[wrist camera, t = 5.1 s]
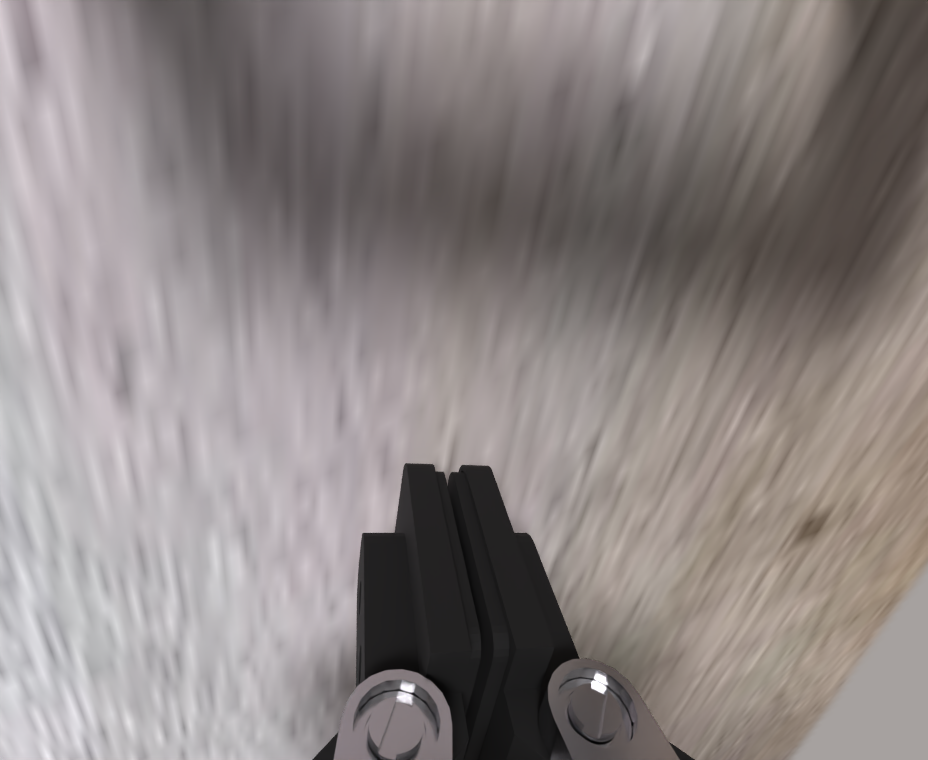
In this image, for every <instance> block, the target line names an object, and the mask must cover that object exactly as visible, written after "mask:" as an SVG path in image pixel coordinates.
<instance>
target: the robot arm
mask: <svg viewBox="0 0 928 760" xmlns="http://www.w3.org/2000/svg"><path fill="white" fill-rule="evenodd" d="M313 760H694V759H693V758H691V757H690V756H688V755H687V754H686V753H684V752H683V751H681V750H680V749H678V748H677V747H676V746H674V745H673V744H671V743H670V742H668V740H667V738H666V737H665V735H664V734H663V732H662V730H661V729H660V727H659V725H658V724H657V722H656V721H655V719H654V717H653V716H652V714H651V712H650V711H649V709H648V708H647V706H646V704H645V703H644V701H643V699H642V698H641V696H640V695H639V693H638V692H637V691H636V689H635V688H634V687H633V685H632V684H631V683H630V682H629V680H628V679H626V678H625V677H624V676H623V675H622V674H620V673H619V672H618V671H617V670H616V669H614V668H612V667H610V666H608V665H606V664H604V663H602V662H599V661H595V660H591V659H587V658H584V659H579V656H578V654H577V651H576V649H575V646H574V643H573V641H572V638H571V636H570V633H569V631H568V628H567V626H566V623H565V621H564V618H563V615H562V613H561V610H560V608H559V605H558V603H557V600H556V598H555V595H554V593H553V590H552V587H551V585H550V582H549V580H548V577H547V575H546V572H545V570H544V567H543V565H542V562H541V560H540V557H539V554H538V552H537V549H536V547H535V544H534V542H533V540H532V538H531V536H530V535H529V534H527V533H514V531H513V528H512V525H511V523H510V520H509V517H508V514H507V511H506V509H505V506H504V503H503V500H502V497H501V495H500V492H499V489H498V486H497V483H496V481H495V478H494V475H493V472H492V470H491V468H490V467H489V466H476V465H462V466H461V467H460V469H459V472H451V474H450V476H449V481H448V487H447V482H446V478H445V474H444V472H435V467H434V465H433V464H408V463H406V464H405V465H404V469H403V476H402V484H401V491H400V498H399V506H398V513H397V520H396V528H395V533H363V534H362V540H361V549H360V559H359V571H358V588H357V651H356V689H355V690H354V691H353V693H352V694H351V695H350V697H349V698H348V700H347V702H346V705H345V708H344V711H343V714H342V717H341V721H340V727H339V732H338V733H337V734H336V735H335V736H334V737H333V738H332V739H331V741H330V742H329V743H328V744H327V745H326V746H325V747H324V748H323V749H322V750H321V751H320V752H319V753H318V754H317V755H316V756H315V758H314V759H313Z"/></svg>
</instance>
